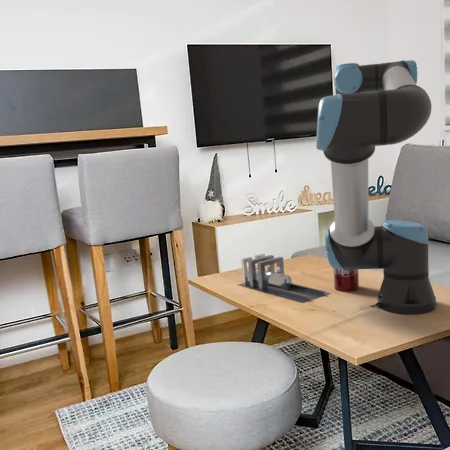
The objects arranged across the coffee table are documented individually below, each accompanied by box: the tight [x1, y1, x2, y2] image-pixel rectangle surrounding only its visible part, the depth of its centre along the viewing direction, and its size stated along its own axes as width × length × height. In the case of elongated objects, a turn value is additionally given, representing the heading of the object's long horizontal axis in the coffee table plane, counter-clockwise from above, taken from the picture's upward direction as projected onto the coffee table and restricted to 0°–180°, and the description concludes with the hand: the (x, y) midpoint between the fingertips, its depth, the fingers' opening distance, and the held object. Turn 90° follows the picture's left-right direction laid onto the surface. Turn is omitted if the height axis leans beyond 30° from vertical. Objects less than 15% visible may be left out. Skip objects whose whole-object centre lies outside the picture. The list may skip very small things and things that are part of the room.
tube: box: [247, 267, 293, 290], centre depth 165 cm, size 16×5×5 cm, turn 37°
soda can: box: [333, 268, 360, 293], centre depth 155 cm, size 7×7×12 cm
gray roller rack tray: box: [238, 253, 332, 304], centre depth 160 cm, size 30×12×10 cm, turn 37°
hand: (352, 193), depth 160 cm, fingers closed
